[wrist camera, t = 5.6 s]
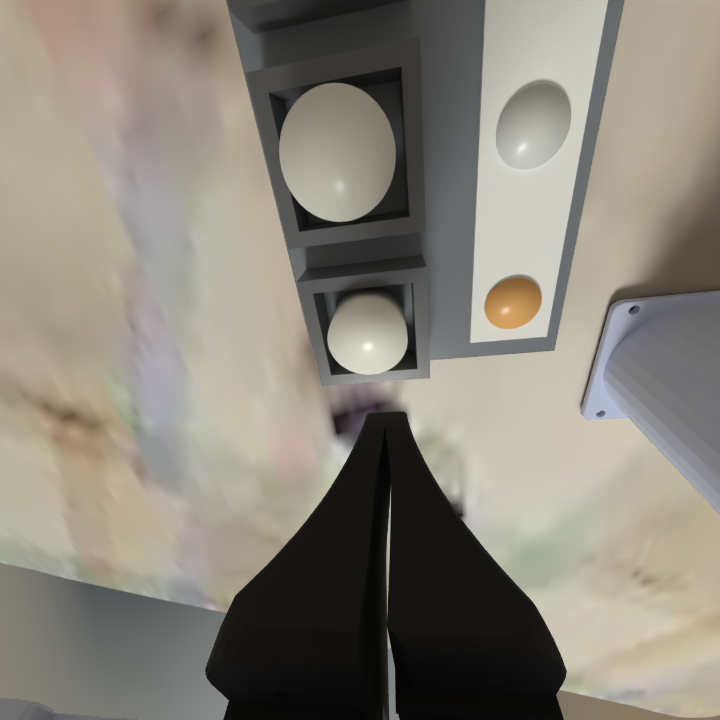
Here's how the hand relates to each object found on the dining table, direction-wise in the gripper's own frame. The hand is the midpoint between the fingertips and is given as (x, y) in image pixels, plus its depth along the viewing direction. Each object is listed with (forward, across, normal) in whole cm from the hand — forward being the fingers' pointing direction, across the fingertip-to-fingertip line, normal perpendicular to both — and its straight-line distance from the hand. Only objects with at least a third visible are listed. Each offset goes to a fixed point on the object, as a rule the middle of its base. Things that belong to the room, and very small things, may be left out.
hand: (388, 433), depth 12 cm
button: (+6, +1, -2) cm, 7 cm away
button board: (+8, -2, -9) cm, 12 cm away
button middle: (+5, +1, -9) cm, 10 cm away
